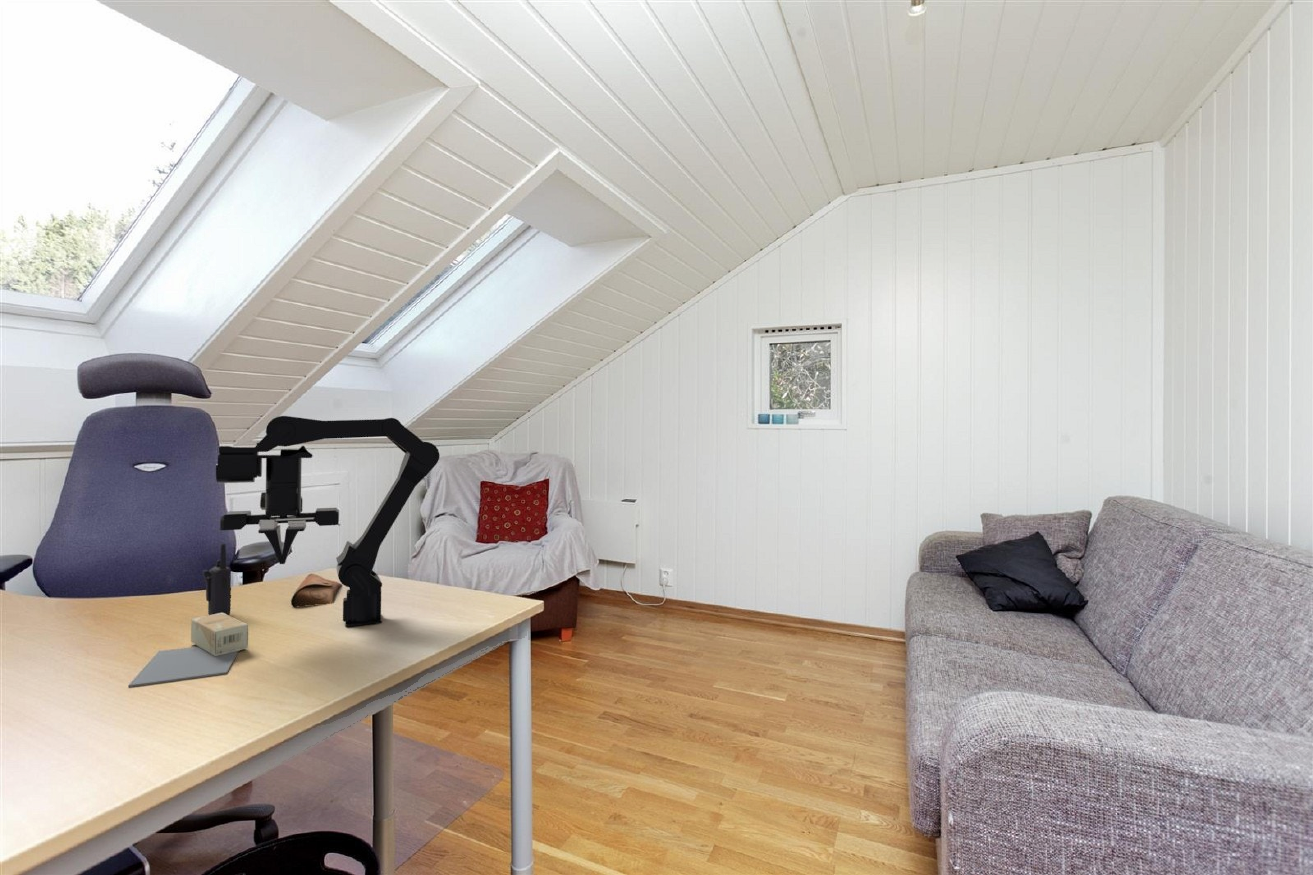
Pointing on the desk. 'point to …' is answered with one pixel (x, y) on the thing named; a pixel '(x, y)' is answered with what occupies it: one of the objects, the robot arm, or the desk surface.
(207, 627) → the box
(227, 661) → the felt pad
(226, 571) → the two-way radio
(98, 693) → the desk surface
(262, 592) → the desk surface
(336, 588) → the sunglasses case
